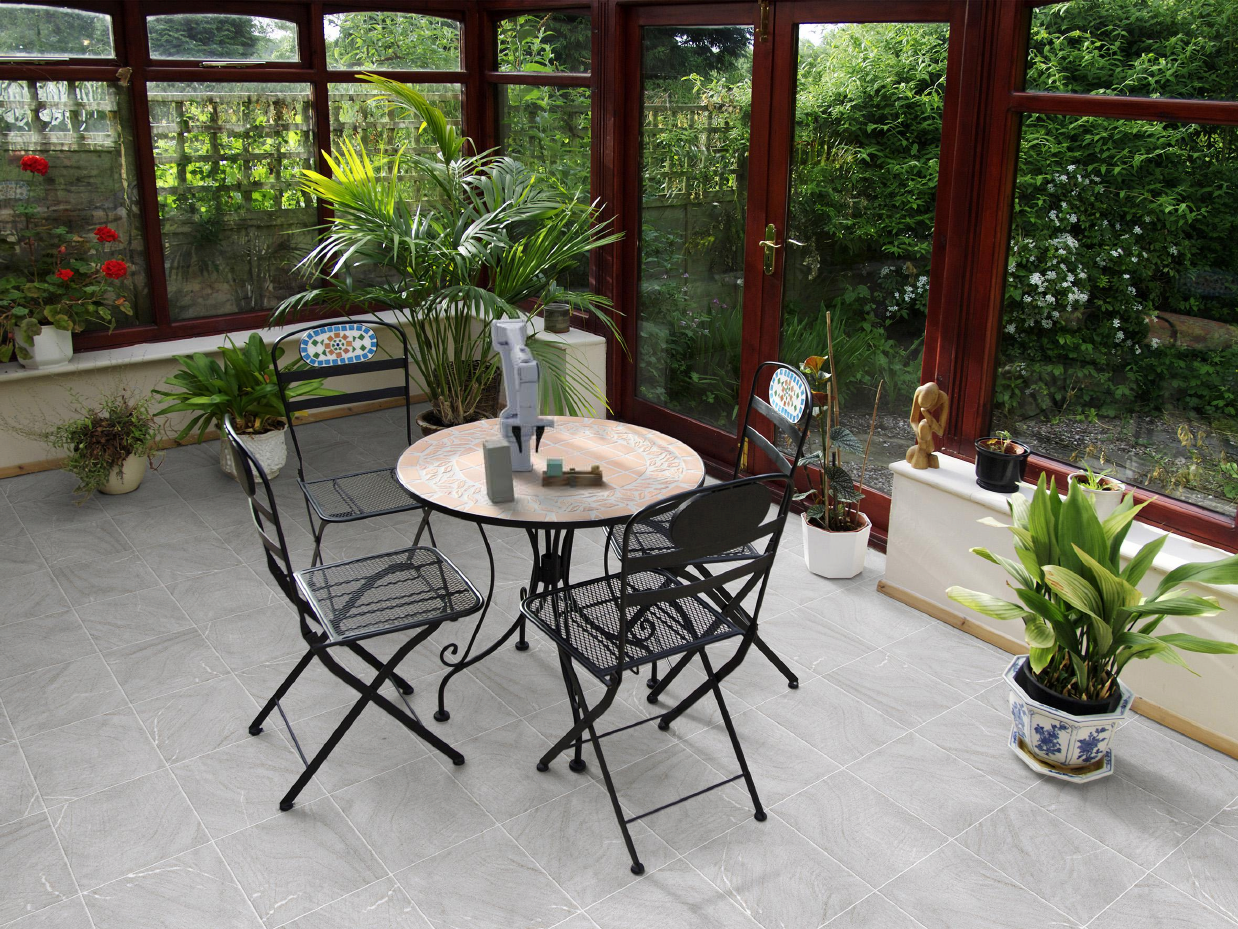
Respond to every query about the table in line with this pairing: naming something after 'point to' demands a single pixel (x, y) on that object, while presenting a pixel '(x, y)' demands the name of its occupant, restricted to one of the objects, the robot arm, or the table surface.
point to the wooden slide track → (575, 478)
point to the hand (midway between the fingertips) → (528, 451)
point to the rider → (554, 467)
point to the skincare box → (498, 470)
